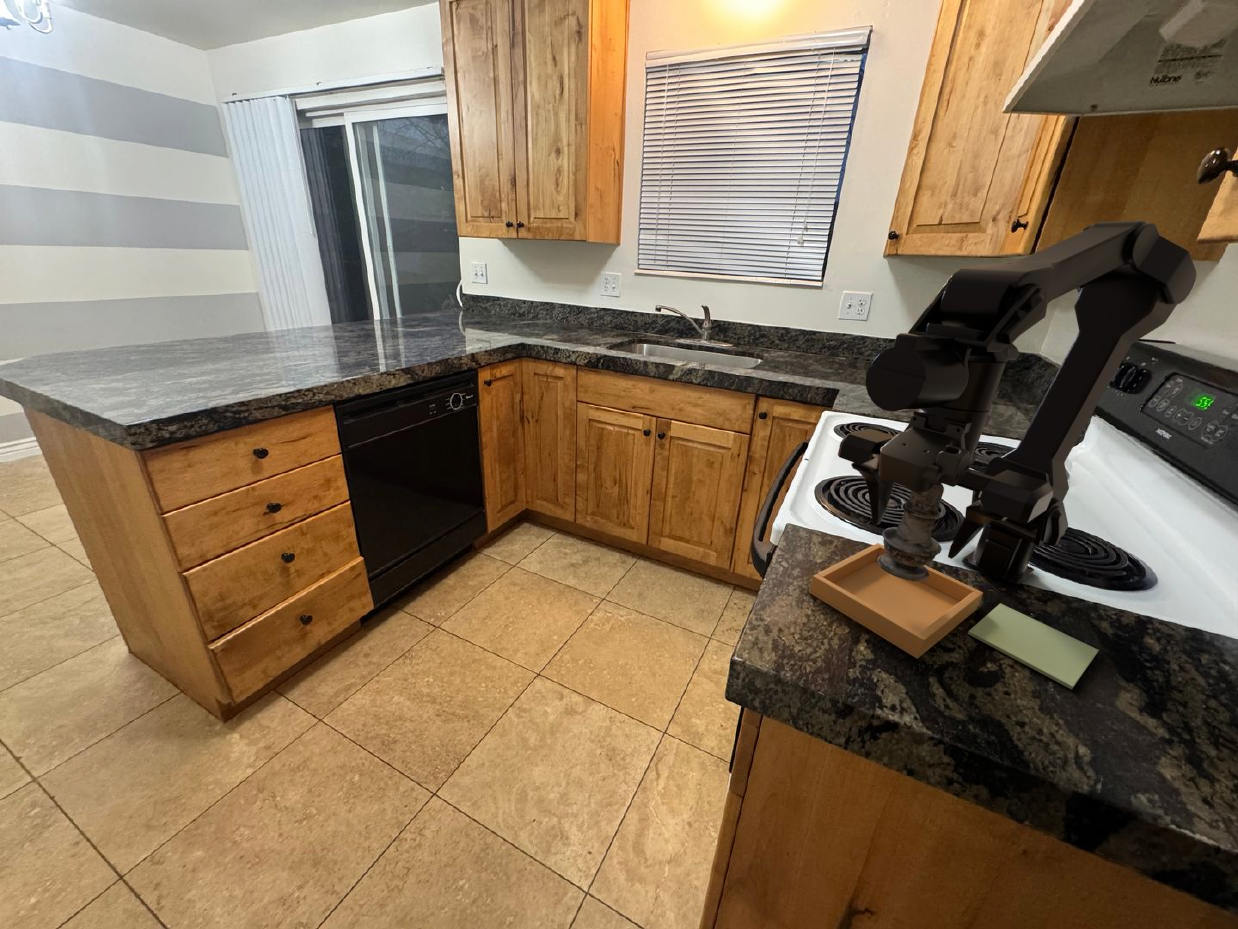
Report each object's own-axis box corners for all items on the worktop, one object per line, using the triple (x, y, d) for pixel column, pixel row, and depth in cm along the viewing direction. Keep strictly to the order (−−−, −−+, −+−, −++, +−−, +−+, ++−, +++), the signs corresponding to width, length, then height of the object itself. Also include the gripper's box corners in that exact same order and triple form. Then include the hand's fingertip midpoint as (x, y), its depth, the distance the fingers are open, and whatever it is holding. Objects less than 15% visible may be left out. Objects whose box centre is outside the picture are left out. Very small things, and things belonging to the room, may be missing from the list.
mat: (999, 606, 59) (1000, 603, 59) (1097, 653, 52) (1099, 650, 52) (967, 633, 54) (968, 631, 54) (1071, 690, 47) (1073, 686, 47)
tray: (873, 557, 67) (877, 542, 66) (976, 609, 58) (983, 592, 57) (808, 592, 59) (812, 575, 58) (917, 659, 50) (924, 640, 49)
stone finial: (944, 580, 55) (980, 481, 50) (898, 584, 53) (931, 483, 49) (906, 551, 60) (935, 460, 55) (863, 555, 59) (890, 461, 54)
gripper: (825, 390, 52) (796, 521, 58) (1041, 445, 38) (974, 611, 44) (880, 381, 58) (849, 500, 64) (1083, 426, 44) (1020, 573, 50)
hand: (911, 539), depth 55 cm, fingers closed on stone finial, 8 cm apart
